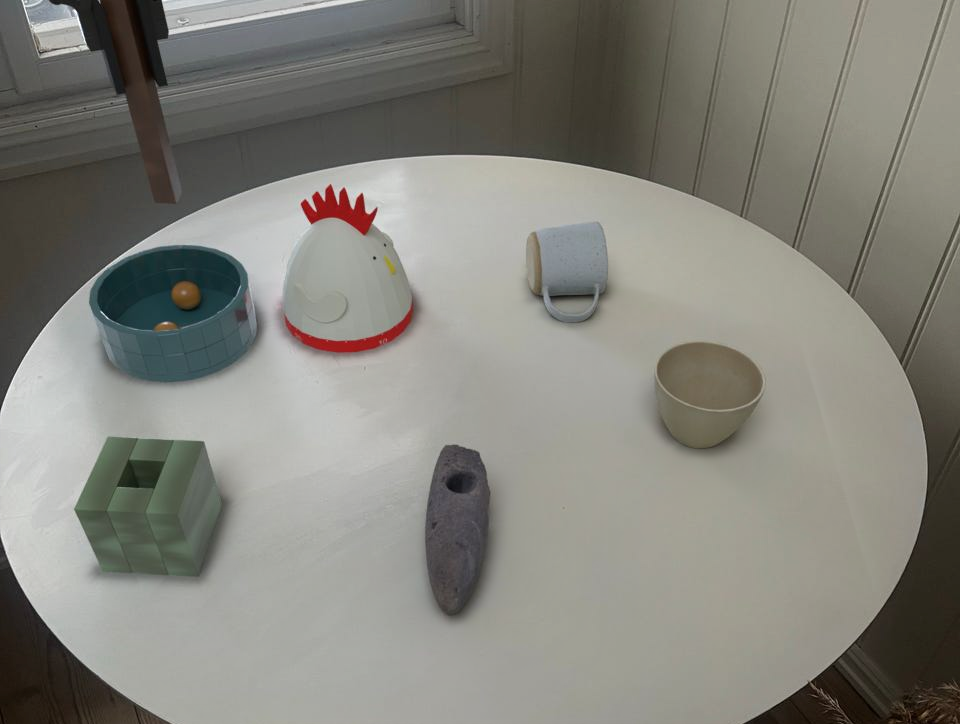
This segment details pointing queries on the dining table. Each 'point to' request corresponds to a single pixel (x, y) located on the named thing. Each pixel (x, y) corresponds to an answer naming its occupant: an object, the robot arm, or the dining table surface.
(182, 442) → the holder
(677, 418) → the small beige bowl
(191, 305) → the bead
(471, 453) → the perforated stone tool
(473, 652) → the dining table surface
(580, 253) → the ceramic mug
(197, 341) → the bowl
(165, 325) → the bead
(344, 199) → the kitchen timer
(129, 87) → the stick
